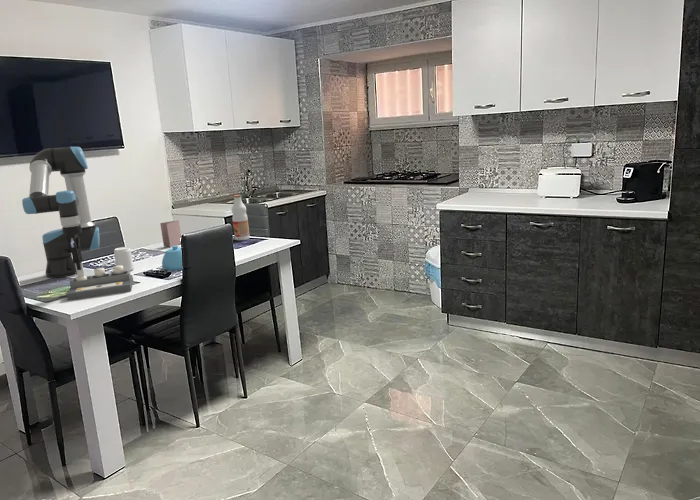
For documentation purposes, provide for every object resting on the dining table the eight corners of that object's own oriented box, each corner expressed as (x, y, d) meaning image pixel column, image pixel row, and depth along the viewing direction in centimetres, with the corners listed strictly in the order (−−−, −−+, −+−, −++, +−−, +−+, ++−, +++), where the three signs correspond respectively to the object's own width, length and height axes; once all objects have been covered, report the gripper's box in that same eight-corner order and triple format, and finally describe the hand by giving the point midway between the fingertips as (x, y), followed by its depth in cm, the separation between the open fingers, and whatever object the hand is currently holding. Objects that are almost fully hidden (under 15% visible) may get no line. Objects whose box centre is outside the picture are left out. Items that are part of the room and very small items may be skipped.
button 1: (77, 282, 244) (76, 276, 243) (88, 281, 245) (87, 274, 244) (76, 285, 240) (75, 278, 239) (86, 283, 241) (85, 277, 240)
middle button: (95, 274, 245) (94, 268, 245) (106, 273, 247) (104, 267, 246) (94, 277, 241) (93, 270, 241) (105, 275, 243) (103, 269, 242)
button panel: (74, 289, 247) (71, 277, 246) (133, 280, 255) (131, 268, 254) (67, 300, 231) (64, 287, 229) (131, 291, 238) (128, 278, 237)
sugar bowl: (198, 265, 276) (195, 244, 273) (172, 273, 265) (169, 250, 262) (183, 262, 286) (180, 241, 283) (157, 269, 275) (154, 247, 272)
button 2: (114, 272, 248) (113, 266, 247) (124, 270, 249) (123, 264, 248) (113, 274, 244) (112, 268, 243) (123, 273, 245) (122, 266, 244)
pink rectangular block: (181, 243, 336) (178, 220, 332) (185, 245, 330) (181, 221, 326) (163, 246, 329) (159, 222, 326) (166, 248, 323) (163, 224, 320)
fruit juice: (247, 240, 331) (242, 195, 324) (233, 241, 332) (227, 196, 325) (251, 237, 340) (246, 193, 333) (237, 237, 341) (232, 194, 334)
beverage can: (128, 272, 271) (124, 250, 268) (114, 273, 273) (110, 250, 270) (137, 268, 279) (133, 246, 276) (123, 268, 280) (119, 246, 278)
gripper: (78, 226, 231) (88, 278, 237) (82, 222, 243) (91, 271, 249) (59, 229, 229) (69, 281, 234) (64, 224, 241) (74, 273, 246)
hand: (81, 276), depth 241 cm, fingers closed
